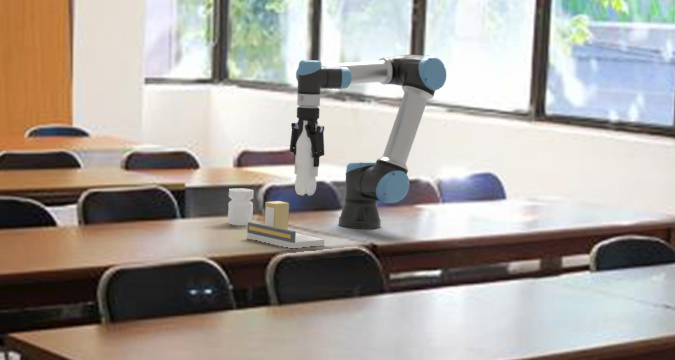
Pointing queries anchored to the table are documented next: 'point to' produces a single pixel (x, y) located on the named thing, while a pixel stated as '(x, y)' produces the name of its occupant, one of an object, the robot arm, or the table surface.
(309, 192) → the water bottle
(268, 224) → the tea box
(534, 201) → the table surface
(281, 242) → the shelf board
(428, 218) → the table surface
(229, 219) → the white jar
